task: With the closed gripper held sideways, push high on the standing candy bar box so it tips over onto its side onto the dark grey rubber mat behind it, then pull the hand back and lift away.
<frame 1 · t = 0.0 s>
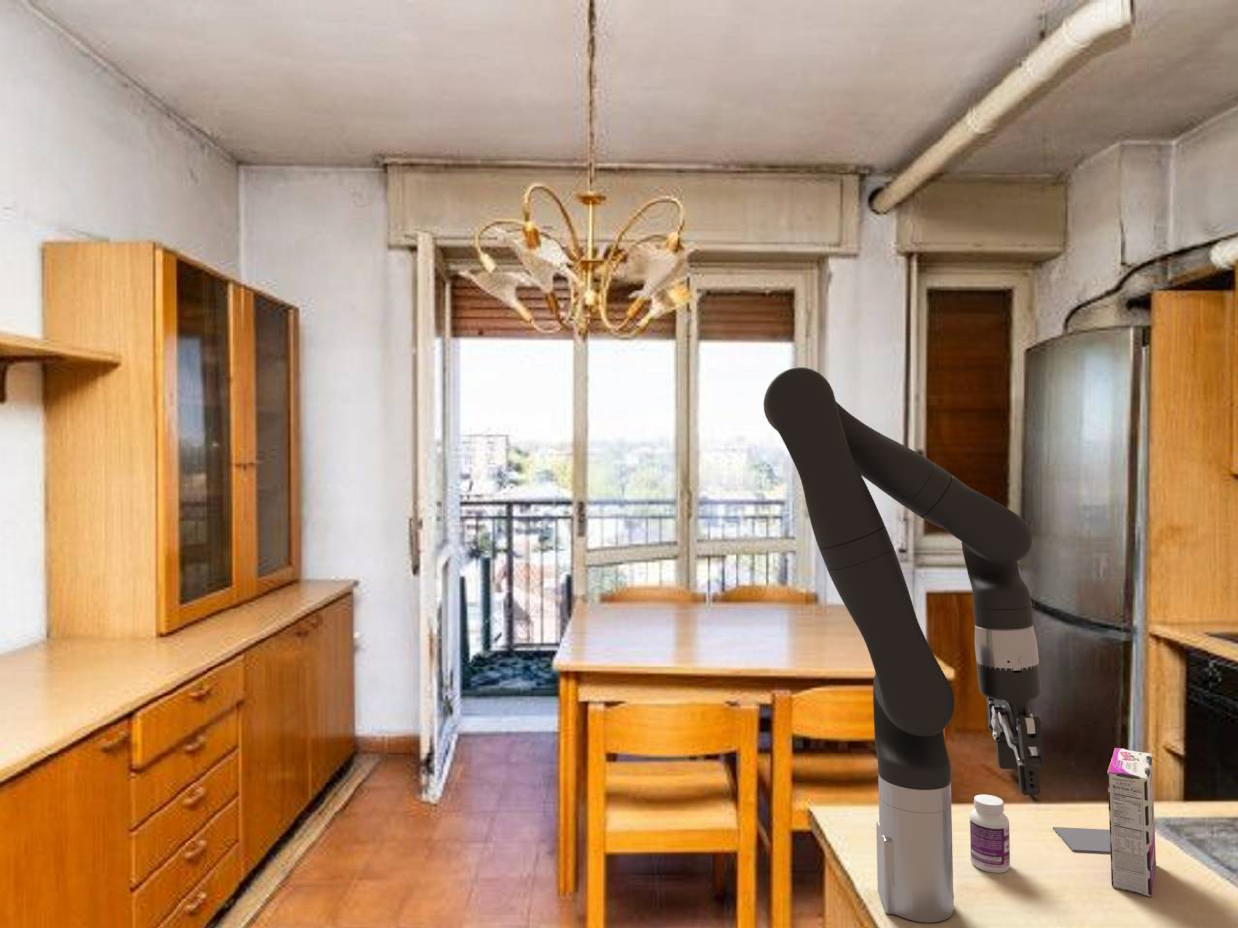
hand: (1018, 780, 104), 17 cm above the table, tool pointing down, fingers open, 8 cm apart
pill bottle: (990, 866, 115), on the table
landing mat: (1100, 841, 121), on the table
candy bar box: (1133, 877, 111), on the table
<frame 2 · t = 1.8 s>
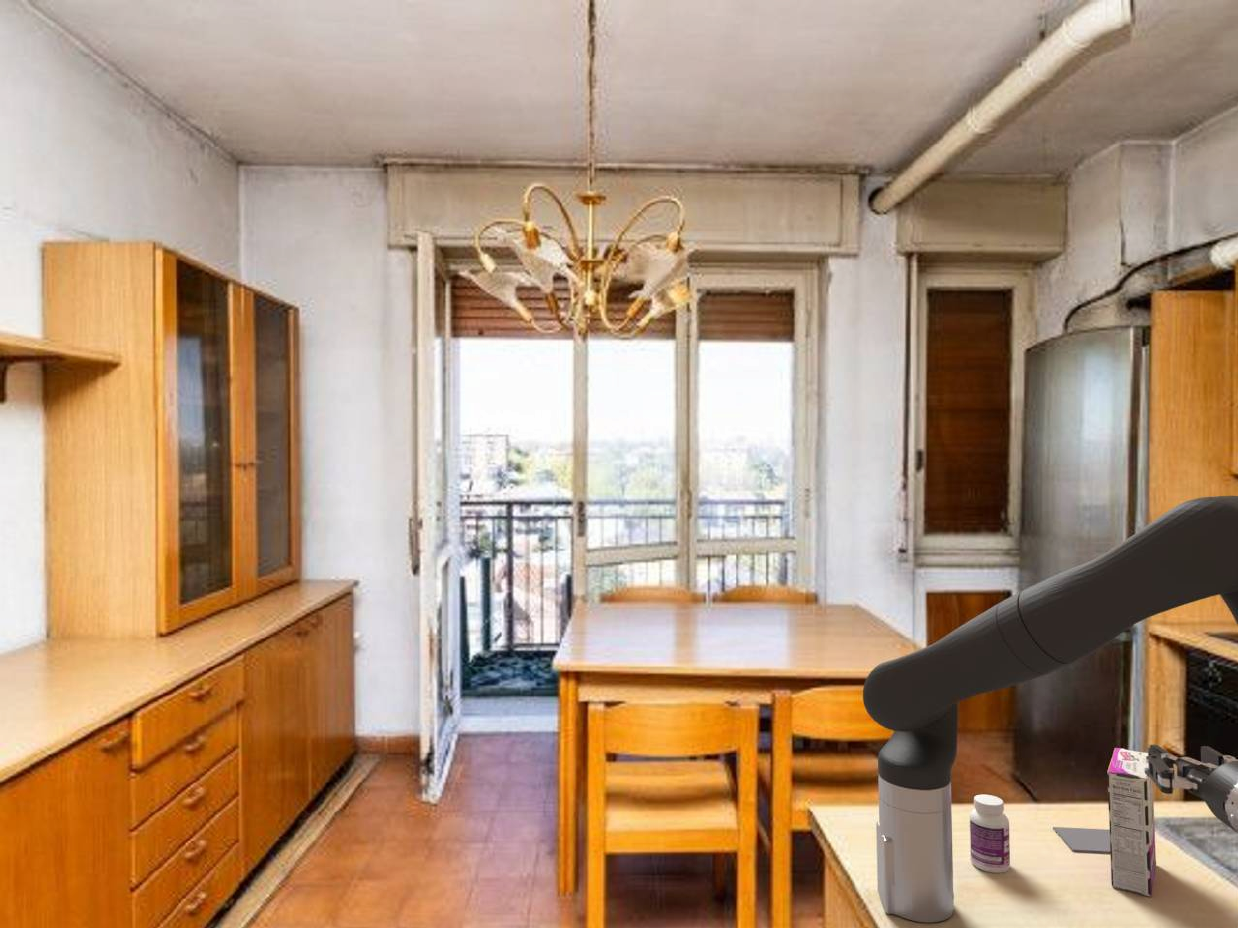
hand: (1178, 753, 99), 22 cm above the table, tool horizontal, fingers open, 5 cm apart
nothing on the table moved.
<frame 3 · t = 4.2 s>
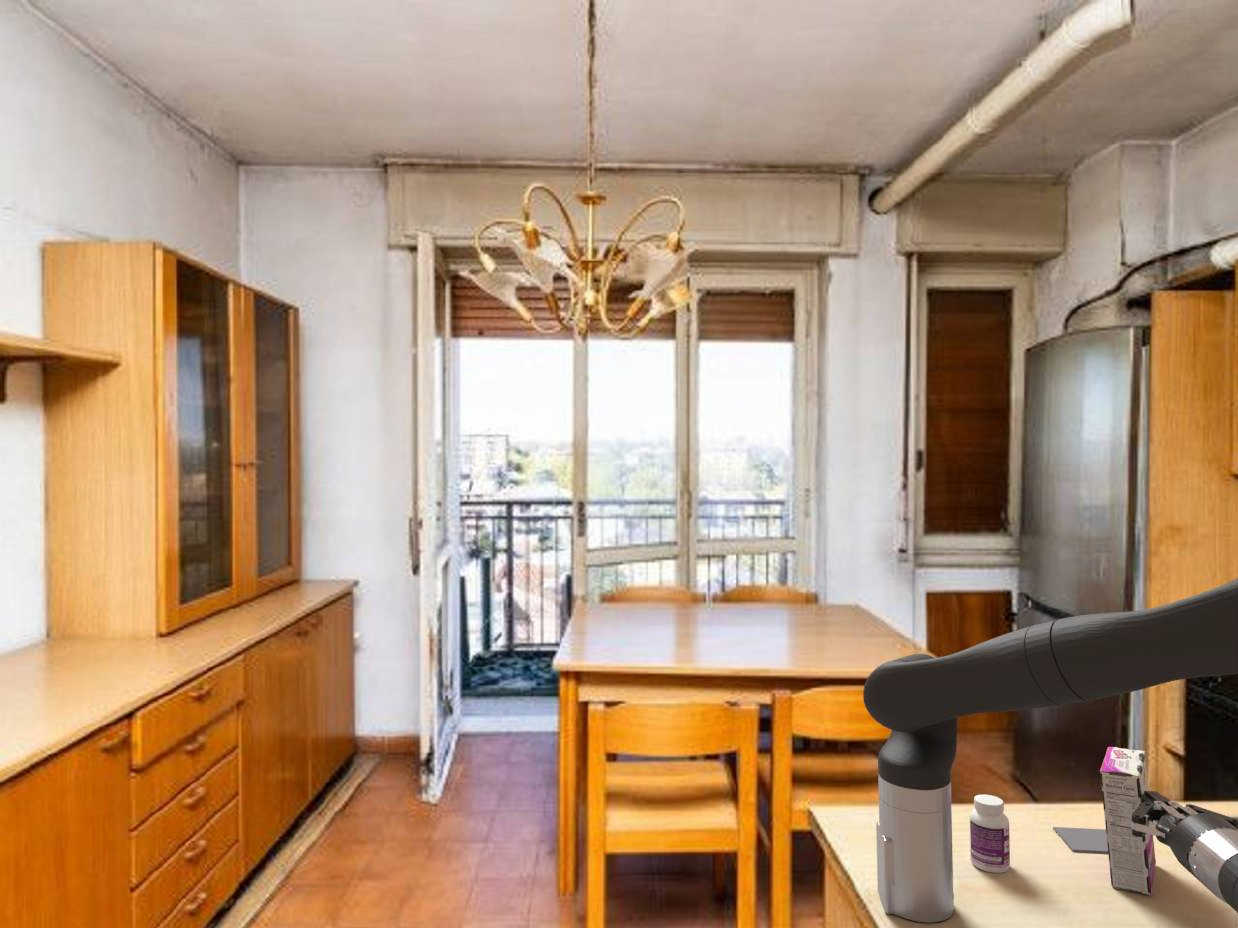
hand: (1149, 797, 107), 13 cm above the table, tool horizontal, fingers closed
nothing on the table moved.
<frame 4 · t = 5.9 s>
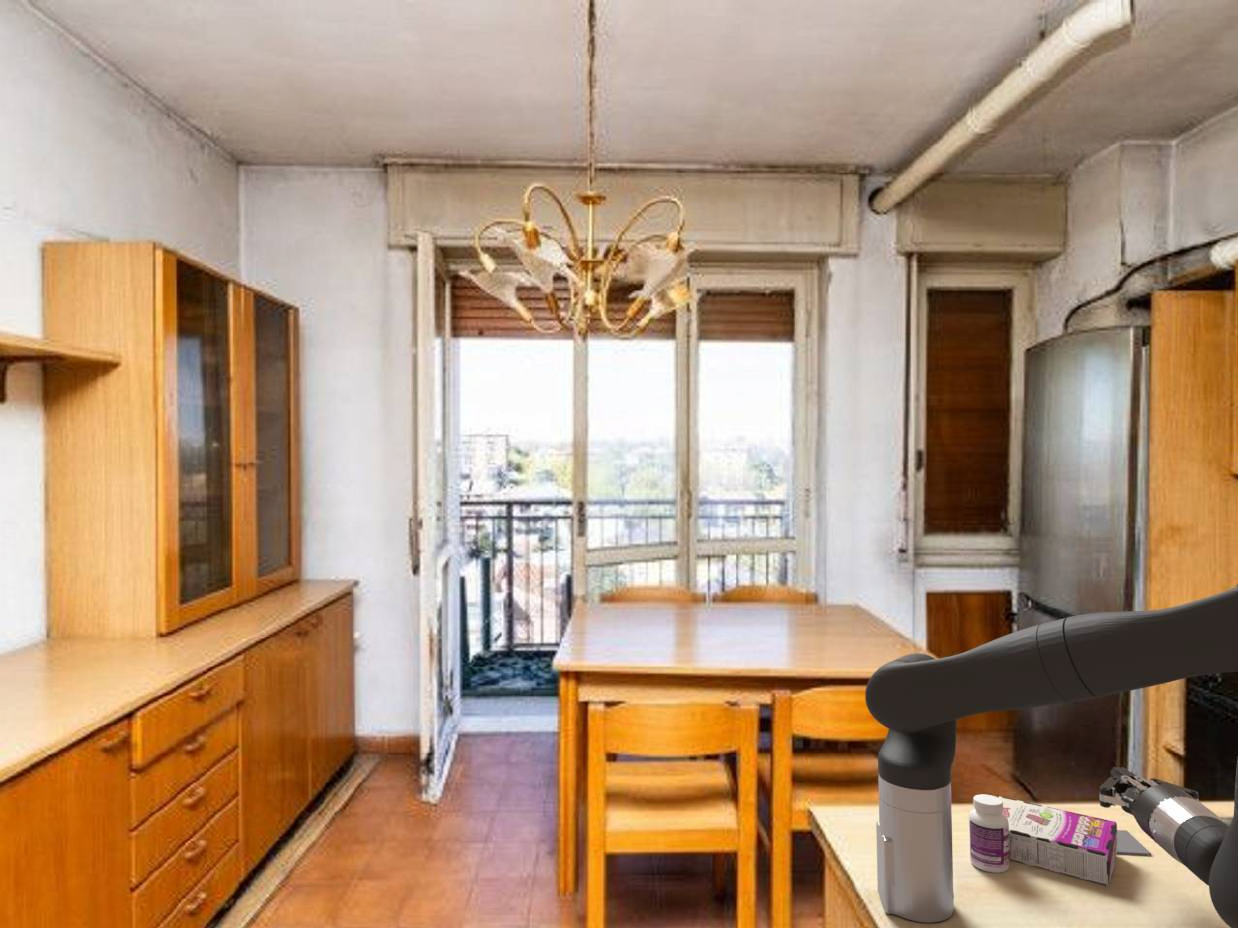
hand: (1117, 773, 115), 13 cm above the table, tool horizontal, fingers closed
candy bar box: (1115, 854, 113), point 2 cm above the table, touching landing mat
everything else where it was.
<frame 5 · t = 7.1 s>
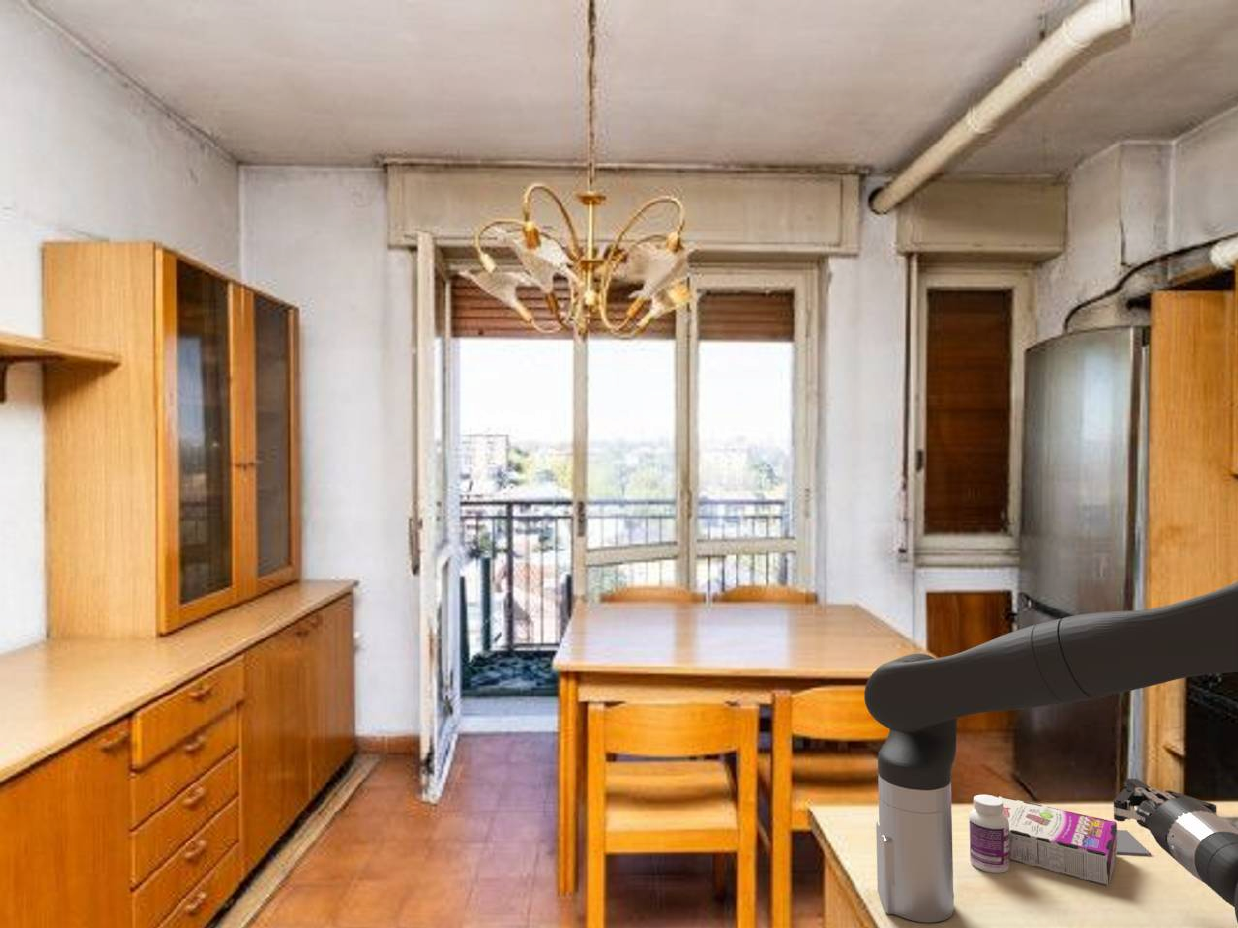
hand: (1130, 785, 111), 13 cm above the table, tool horizontal, fingers closed
nothing on the table moved.
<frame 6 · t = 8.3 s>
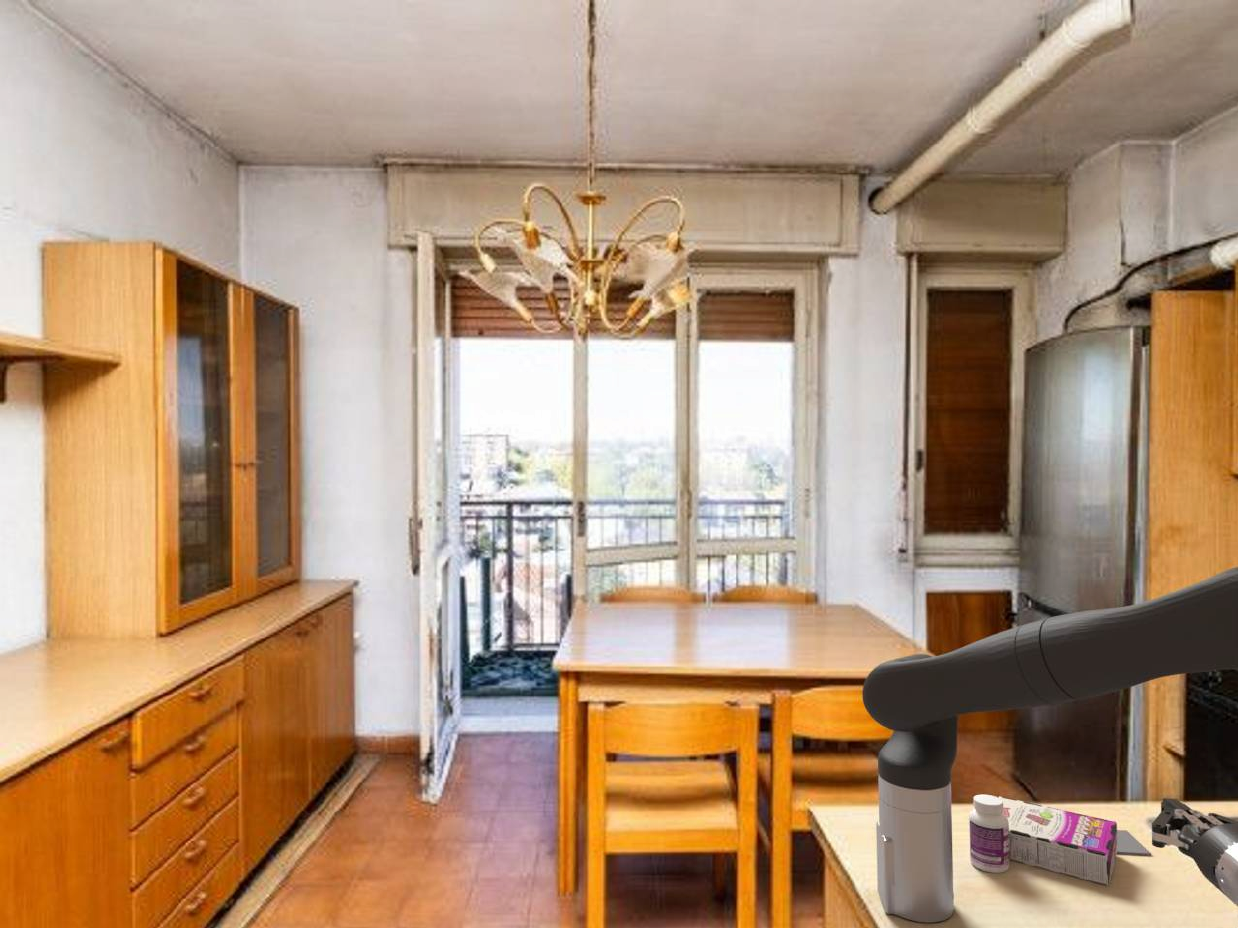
hand: (1168, 805, 101), 15 cm above the table, tool horizontal, fingers closed
nothing on the table moved.
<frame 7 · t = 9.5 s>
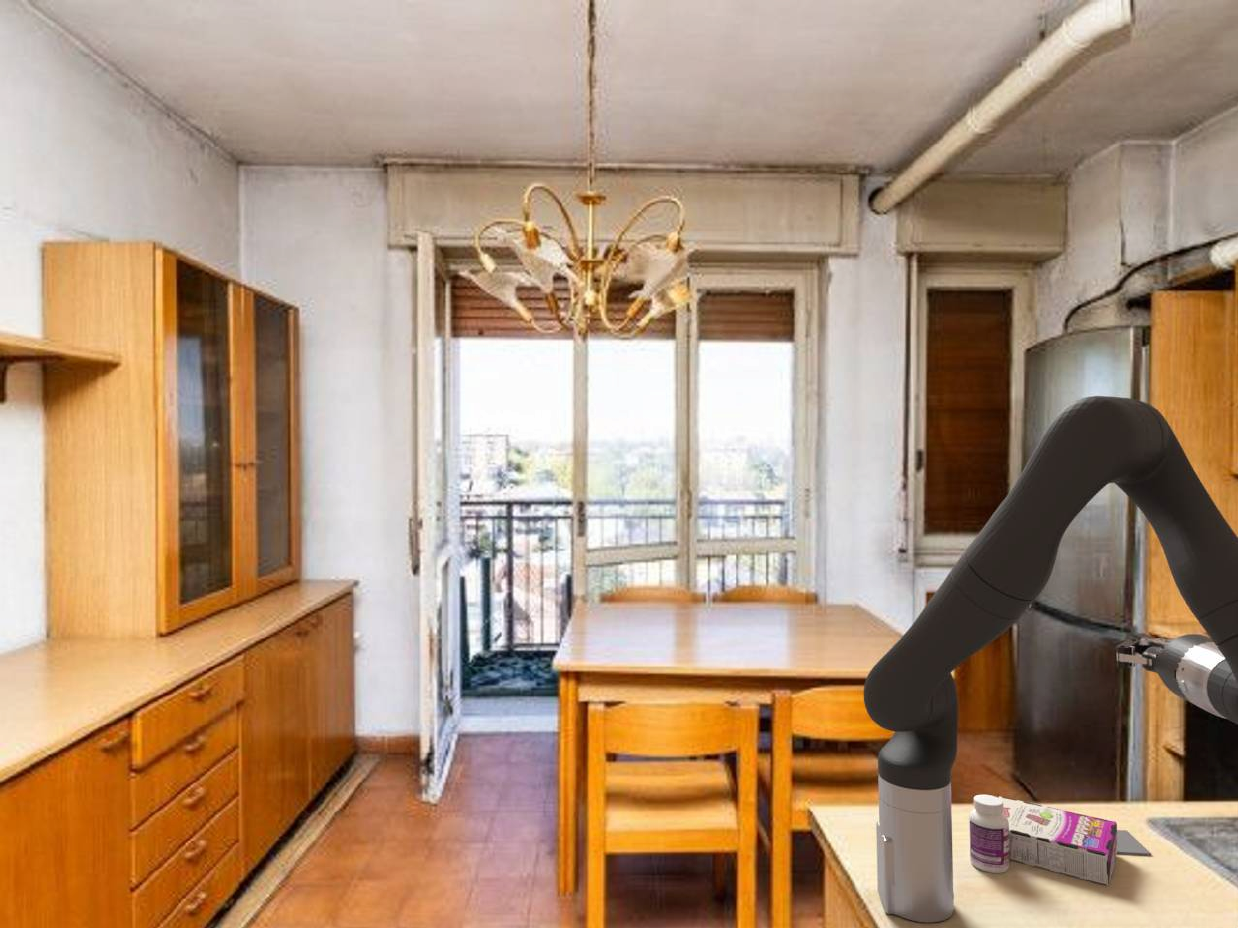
hand: (1136, 641, 101), 36 cm above the table, tool horizontal, fingers closed
nothing on the table moved.
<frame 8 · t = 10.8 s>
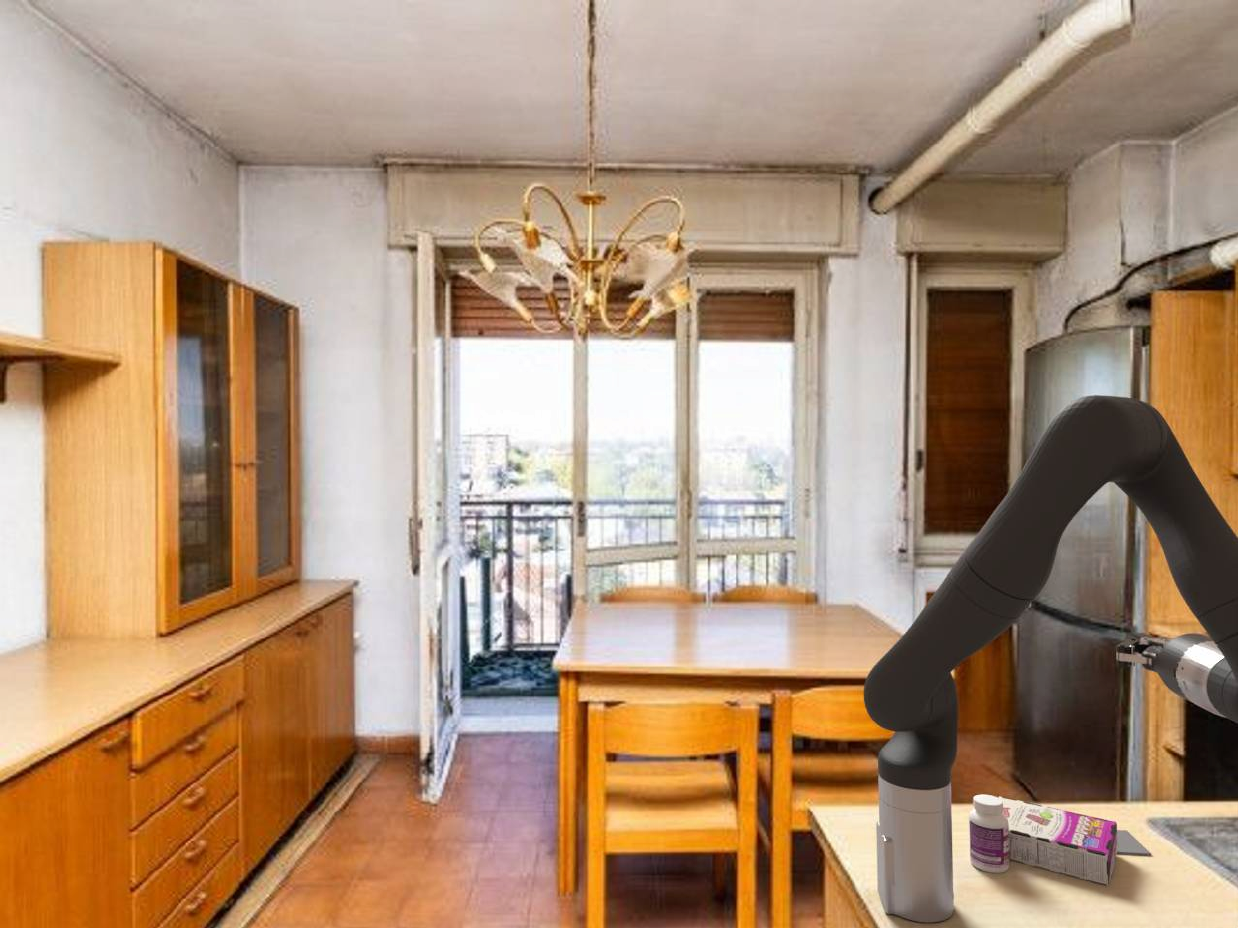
hand: (1135, 640, 101), 36 cm above the table, tool horizontal, fingers closed
nothing on the table moved.
at the end: candy bar box tilted 89°; candy bar box inside the target area (5.8 cm from its centre), point 2.4 cm above the table; candy bar box touching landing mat, table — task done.
